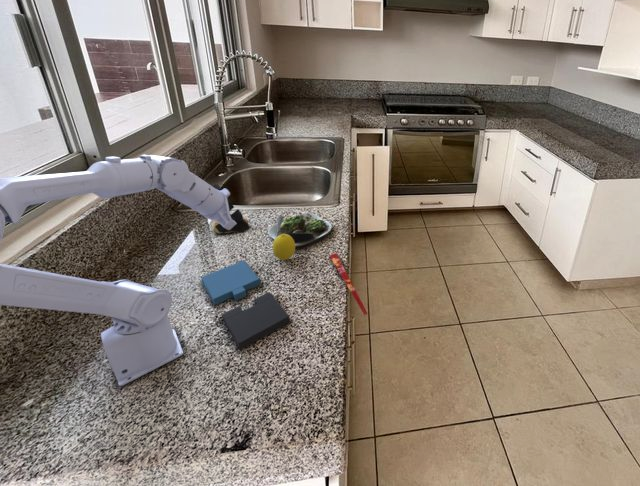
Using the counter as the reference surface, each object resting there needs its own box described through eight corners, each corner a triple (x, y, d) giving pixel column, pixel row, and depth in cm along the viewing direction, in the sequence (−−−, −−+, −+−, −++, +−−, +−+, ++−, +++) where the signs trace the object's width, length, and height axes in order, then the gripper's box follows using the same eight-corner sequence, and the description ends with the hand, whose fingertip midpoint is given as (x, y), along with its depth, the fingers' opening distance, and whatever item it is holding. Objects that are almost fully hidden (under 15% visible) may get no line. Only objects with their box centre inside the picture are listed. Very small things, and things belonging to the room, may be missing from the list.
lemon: (289, 251, 96) (286, 226, 93) (300, 259, 93) (297, 234, 90) (270, 259, 92) (267, 234, 89) (281, 268, 89) (277, 242, 86)
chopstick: (363, 317, 74) (363, 313, 74) (329, 257, 93) (329, 254, 93) (371, 313, 75) (371, 310, 75) (336, 255, 94) (336, 252, 94)
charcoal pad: (240, 350, 66) (238, 343, 65) (223, 320, 73) (221, 314, 72) (289, 322, 73) (288, 316, 72) (270, 297, 79) (269, 291, 79)
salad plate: (254, 230, 105) (251, 217, 103) (307, 211, 117) (305, 199, 116) (284, 258, 93) (281, 243, 91) (339, 233, 105) (338, 220, 103)
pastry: (250, 221, 110) (248, 210, 109) (246, 232, 104) (244, 221, 103) (218, 224, 108) (215, 213, 107) (212, 236, 102) (209, 225, 100)
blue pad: (217, 309, 75) (215, 303, 75) (202, 283, 83) (200, 277, 83) (263, 288, 82) (262, 282, 81) (245, 265, 90) (244, 259, 89)
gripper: (230, 201, 67) (267, 225, 79) (198, 161, 74) (237, 189, 85) (199, 227, 65) (241, 248, 77) (169, 184, 72) (213, 209, 83)
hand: (237, 219), depth 81 cm, fingers open, 7 cm apart
